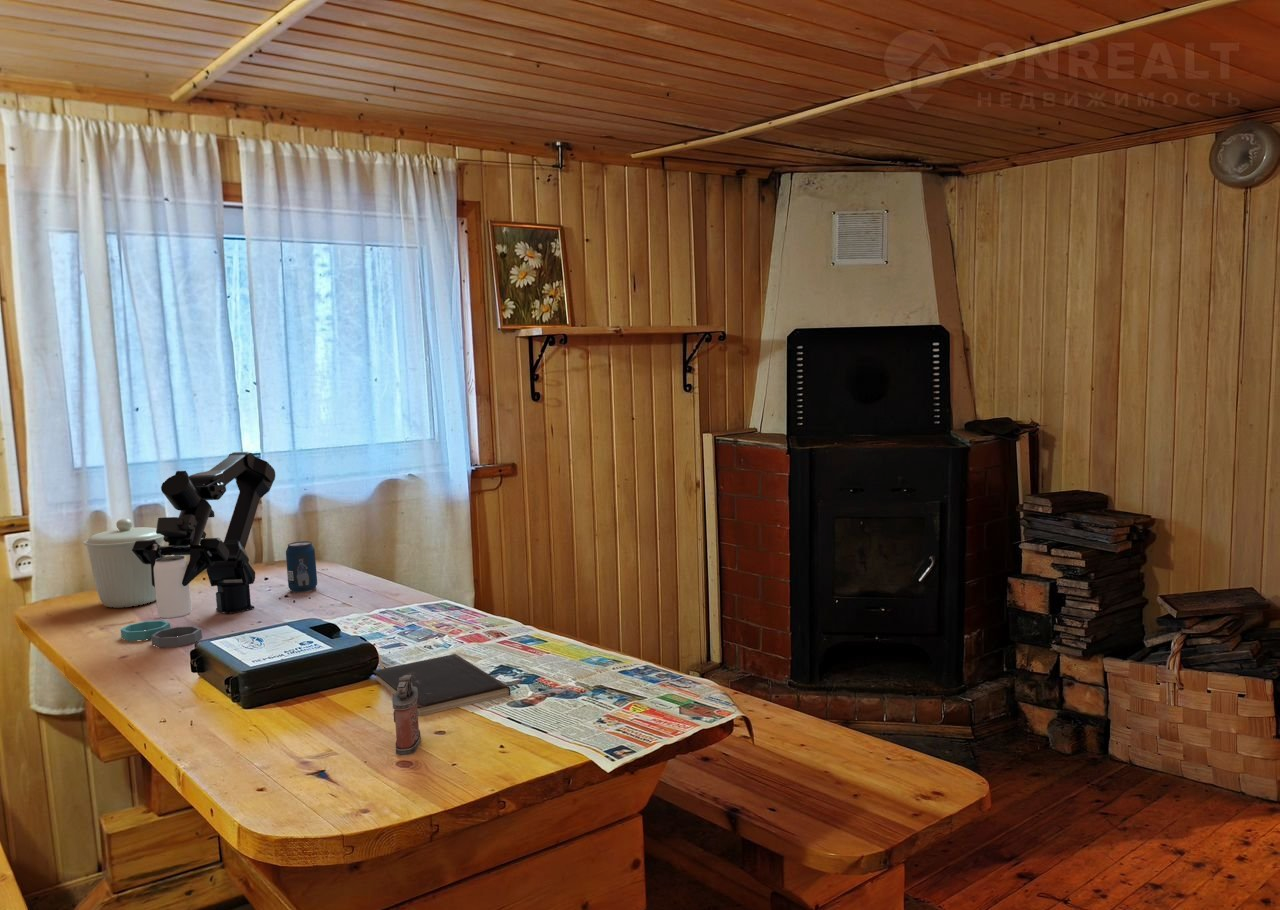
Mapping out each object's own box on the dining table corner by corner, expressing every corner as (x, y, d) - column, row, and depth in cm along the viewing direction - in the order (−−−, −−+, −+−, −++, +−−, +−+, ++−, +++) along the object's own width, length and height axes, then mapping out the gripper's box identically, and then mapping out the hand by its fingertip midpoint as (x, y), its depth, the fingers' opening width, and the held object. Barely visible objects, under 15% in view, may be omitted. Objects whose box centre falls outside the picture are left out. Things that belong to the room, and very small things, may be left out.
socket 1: (159, 627, 219) (158, 618, 219) (175, 633, 213) (174, 624, 213) (116, 636, 213) (116, 627, 213) (132, 643, 207) (132, 634, 207)
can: (178, 619, 203) (173, 561, 202) (151, 619, 204) (145, 561, 203) (198, 611, 209) (193, 555, 208) (171, 610, 210) (166, 555, 209)
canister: (178, 603, 242) (170, 518, 239) (94, 616, 232) (85, 527, 229) (165, 590, 256) (158, 510, 254) (86, 602, 246) (78, 519, 244)
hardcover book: (418, 720, 157) (417, 706, 156) (374, 683, 176) (373, 670, 176) (511, 698, 165) (510, 685, 165) (458, 665, 184) (458, 653, 184)
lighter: (401, 735, 149) (396, 670, 148) (423, 733, 149) (419, 669, 148) (392, 756, 141) (387, 688, 140) (416, 754, 141) (411, 686, 140)
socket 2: (189, 633, 213) (188, 624, 213) (207, 639, 207) (206, 630, 207) (147, 642, 207) (146, 633, 207) (164, 650, 201) (163, 640, 201)
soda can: (306, 585, 255) (303, 539, 254) (323, 588, 251) (319, 541, 250) (283, 591, 250) (279, 544, 248) (299, 594, 246) (296, 546, 244)
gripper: (132, 502, 209) (106, 565, 199) (217, 499, 207) (195, 563, 198) (156, 532, 217) (132, 594, 208) (238, 530, 216) (218, 592, 206)
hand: (168, 585), depth 205 cm, fingers closed on can, 6 cm apart
